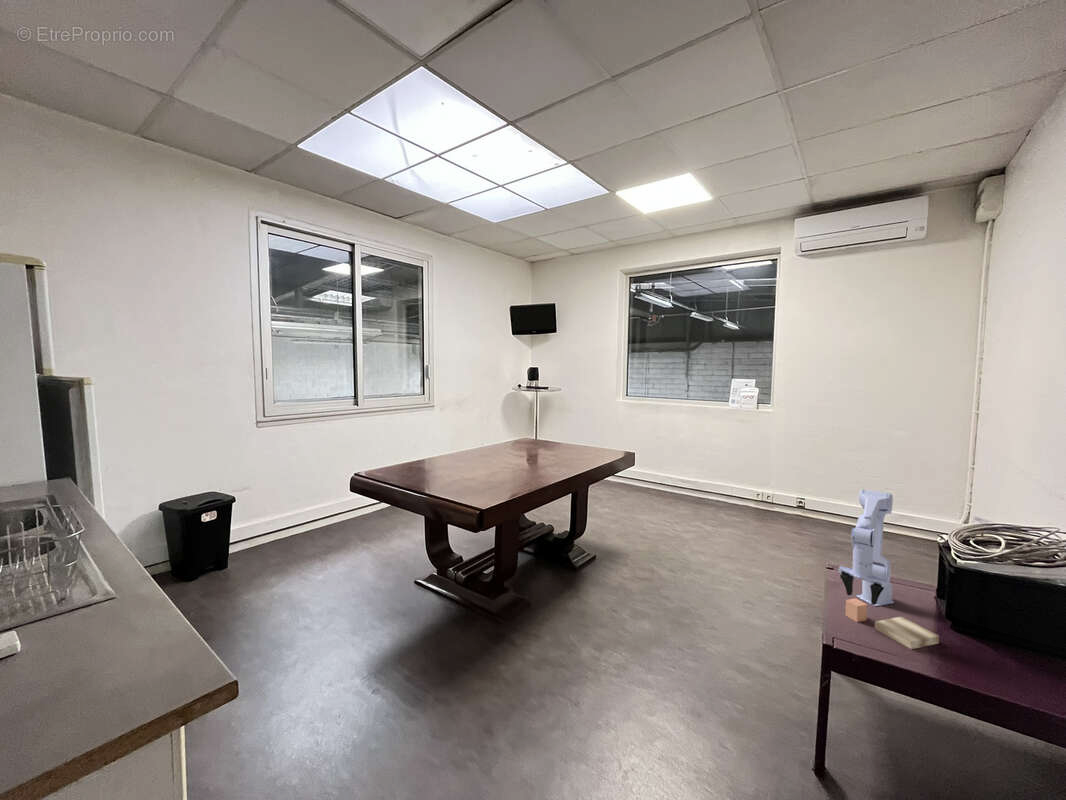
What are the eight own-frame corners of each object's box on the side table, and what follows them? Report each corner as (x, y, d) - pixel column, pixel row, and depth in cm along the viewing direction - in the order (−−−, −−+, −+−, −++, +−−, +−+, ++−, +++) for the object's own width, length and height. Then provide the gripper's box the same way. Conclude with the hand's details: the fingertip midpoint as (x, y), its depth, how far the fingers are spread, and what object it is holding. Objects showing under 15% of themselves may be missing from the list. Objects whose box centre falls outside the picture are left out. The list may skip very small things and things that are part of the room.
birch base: (901, 624, 156) (901, 616, 156) (938, 644, 145) (939, 635, 145) (874, 629, 154) (874, 621, 154) (910, 650, 142) (911, 641, 142)
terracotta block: (855, 613, 163) (855, 598, 163) (866, 620, 159) (867, 604, 159) (845, 615, 162) (845, 600, 162) (856, 622, 158) (857, 606, 158)
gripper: (834, 556, 159) (833, 593, 159) (881, 571, 146) (880, 610, 147) (844, 553, 163) (843, 589, 163) (891, 567, 150) (889, 606, 150)
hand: (861, 599), depth 155 cm, fingers open, 7 cm apart
